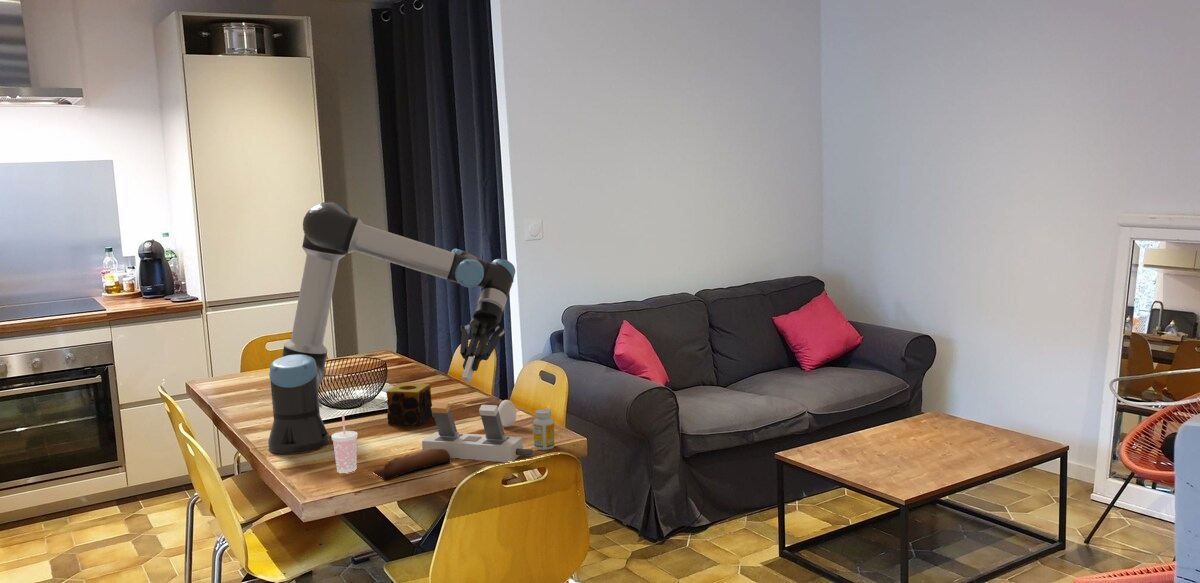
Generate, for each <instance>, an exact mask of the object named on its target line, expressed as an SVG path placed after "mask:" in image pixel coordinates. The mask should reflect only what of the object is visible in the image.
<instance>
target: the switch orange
mask: <svg viewBox="0 0 1200 583" xmlns="http://www.w3.org/2000/svg"><path fill="white" fill-rule="evenodd" d="M451 409H452V408H451V406H450V403H449V402H436V401H435V402H432V406H431V410H432V417H433V418H434V421H435V424H436V428H437V430H438V431H437V432H438V435H439V436H449V437H458V436H459V433H460V431H458V430H457V426H456V423H455V419H454V416H453V413H452V410H451Z"/></svg>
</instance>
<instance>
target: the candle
mask: <svg viewBox="0 0 1200 583" xmlns="http://www.w3.org/2000/svg"><path fill="white" fill-rule="evenodd" d="M431 388H432V386H431V384H430V383H399V384H397V385H395V386H393V387H392V388H390V389H388V390H386V391H385V392H386V393H385V394H386V398H387V400H386V401H387V402H386V404H387V414H386V417H387V425H389V426H415V427H420V426H422V425H423V424H425V423H426V422H427V421H429V420H430V419H431V418H433V413H432V410H431V406H432V405H433V401H432V394H431V393H432V390H431Z"/></svg>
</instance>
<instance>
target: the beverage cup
mask: <svg viewBox="0 0 1200 583" xmlns="http://www.w3.org/2000/svg"><path fill="white" fill-rule="evenodd" d="M341 419H342V420H341V421H342V431H337V432H335V433H333V434H331V441H332V442H333V443H332V444H333V449H334V450H333V451H334V458H335V465H336V472H337V473H338V472H339V473H338V474H341V473H346V474H349V473H348V472H352V471H354V472H356V471H357V470H356V469H357V468H358V466H357V464H358V463H357V453H358V452H357V448H358V447H357V445H358V443H357V439H358V432H357V431H353V430H346V423H345V420H346V419H345V413H342V415H341ZM355 470H356V471H355ZM352 473H353V472H352Z"/></svg>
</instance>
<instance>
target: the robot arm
mask: <svg viewBox="0 0 1200 583" xmlns="http://www.w3.org/2000/svg"><path fill="white" fill-rule="evenodd" d="M302 230H303V234H304V235H303V240H302V245H301V246H302V247H301V248H302V249H303V251H304V252H305V254H306V258H305V261H304V262H305V263H304V268H303V273H302V277H301V284H300V289H299V293H298V294H299V295H298V299H297V300H298V301H297V306H296V311H295V315H294V316H295V317H294V321H293V322H294V323H293V326H292V332H291V339H289V340H288V341H286V342H285V343H283V344H284V345H283V350H282V355H281V357H279V358H277V359H274V360H273V361H272V362H271V363H270V367H269V375H268V376H269V380H270V390H271V401H272V415H273V420H272V421H273V422H272V426H271V429H270V431H269V432H270V434H269V438H268V442H267V443H268V450H269V451H270V452H271V453H274V454H278V455H295V454H304V453H309V452H312V451H313V452H314V451H316V450H319V449H322V448H324V447H326V446H327V445H328V444H329V434H328V430H327V428H326V426H325V423H324V422H323V419H322V417H321V413H320V399H319V388H320V385H321V384H322V383H323V380H324V378H325V376H326V375H325V373H326V361H327V356H328V348H327V347H326V346H325V344H324V342H325V336H326V331H327V324H328V320H329V314H330V310H331V309H330V308H331V303H332V298H333V293H334V289H335V282H336V277H337V273H338V272H337V271H338V266H339V262H340V260H341V259H342V258H344V257H345V256H346V254H351V253H354V252H355V253H359V254H362V255H365V256H369V257H372V258H375V259H378V260H382V261H386V262H387V263H392V264H395V265H399V266H401V267H405V268H408V269H411V270H414V271H417V272H421V273H424V274H428V275H431V276H434V277H436V278H437V277H438V278H440V279H443V280H447V281H450V282H453V283H457V284H459V285H461V286H462V287H465V288H475V287H479V288H482V290H481V292H480V295H479V298H478V299H477V300H478V301H477V305H476V306H475V309H474V312H473V316H472V319H471V320H470V322H469V323H468V324H467V325H464V324H462V325H460V331H461V338H460V351H459V353H460V355H461V357H462V359H463V360H464V361H463V364H462V369H463V371H462V375H461V378H462V380H463V382H464V383H466V384H468V383H469V384H470V383H471V381H472V378H473V376H474V373H475V372H477V371H478V370H479V366H480V363H481V362H482V361H488V360H489V358H490V356H491V355H492V353H493V351H494V350H495V348H496V347H497V345H498V343H499V342H500V341H501V339H502V338H503V337H504V336H505V335H506V331H505V329H504V327H503V326H500V322H501V320H502V316H503V312H504V310H505V307H506V304H507V300H508V297H509V294H510V292H511V289H512V286H513V284H514V280H515V275H516V268H515V266H514V264H513V263H512V262H510V261H509V260H507V259H501V258H496V259H494V260H493V261H491V262H490V261H486V260H484V259H481V258H480V257H478V256H475V255H473V254H471V253H469V252H467V251H465V250H461V249H458V248H453V249H452V250H451V251H449V250H447V249H443V248H441V247H436V246H434V245H431V244H428V243H424V242H421V241H418V240H415V239H411V238H409V237H405V236H402V235H399V234H396V233H394V232H393V233H392V232H389V231H387V230H383V229H381V228H377V227H374V226H371V225H367V224H364V223H363V221H362V220H361V218H358V217H355V216H352V215H351V213H350V212H349V211H348V209H347V208H346V207H344V206H343V205H341V204H339V203H336V202H331V201H325V202H324V201H323V202H321V203H319V204H316V205H314V206H313V207H311V208H309V210H308V211H307V212H306V214H305V216H304V217H303V221H302ZM470 331H472V333H470ZM469 334H471V337H470V336H469ZM491 335H492V336H491ZM469 337H470V338H469ZM469 340H470V341H469Z"/></svg>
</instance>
